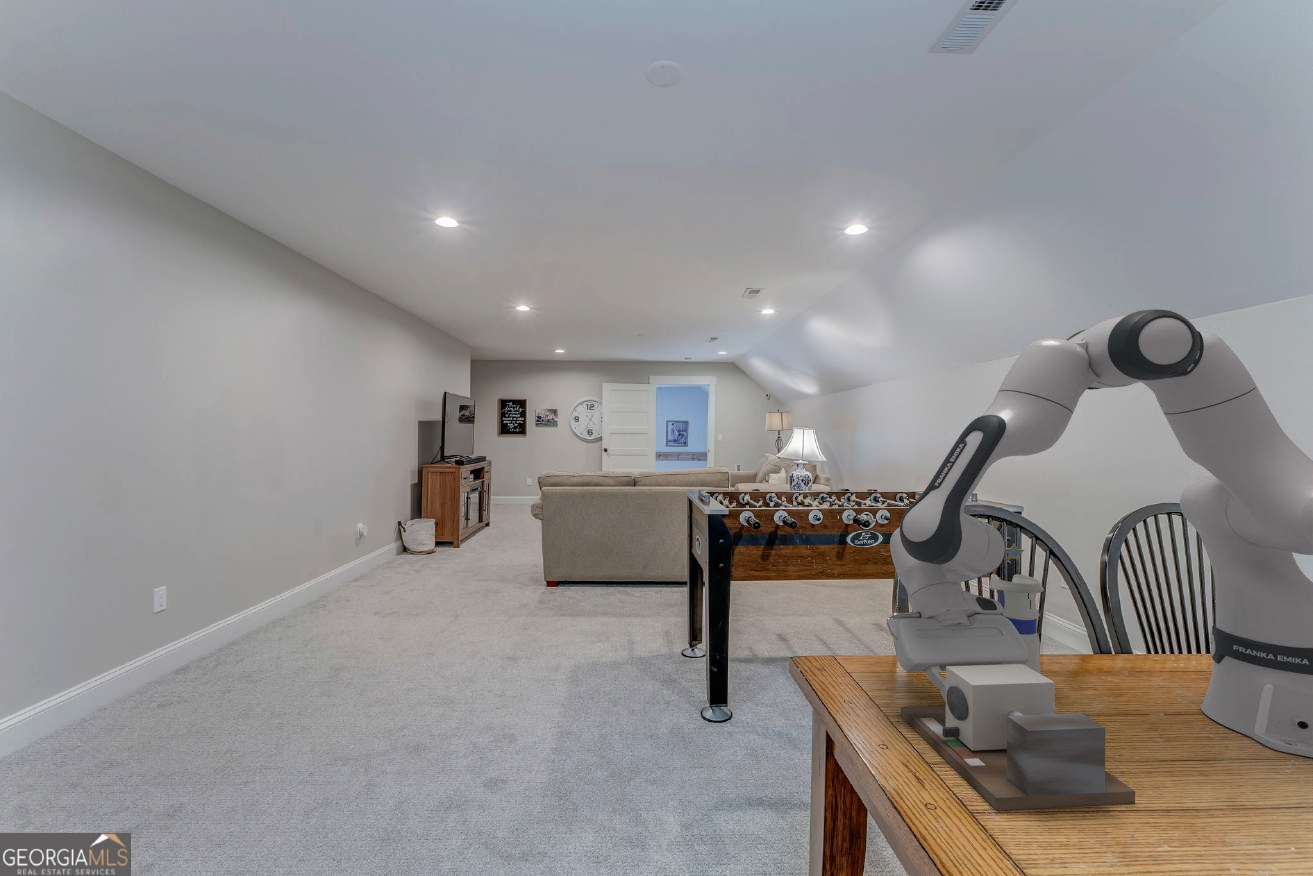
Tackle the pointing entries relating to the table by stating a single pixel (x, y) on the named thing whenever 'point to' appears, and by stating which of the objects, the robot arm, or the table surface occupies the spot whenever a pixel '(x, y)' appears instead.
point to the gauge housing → (992, 701)
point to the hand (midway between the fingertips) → (981, 698)
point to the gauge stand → (1030, 760)
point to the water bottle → (1021, 607)
